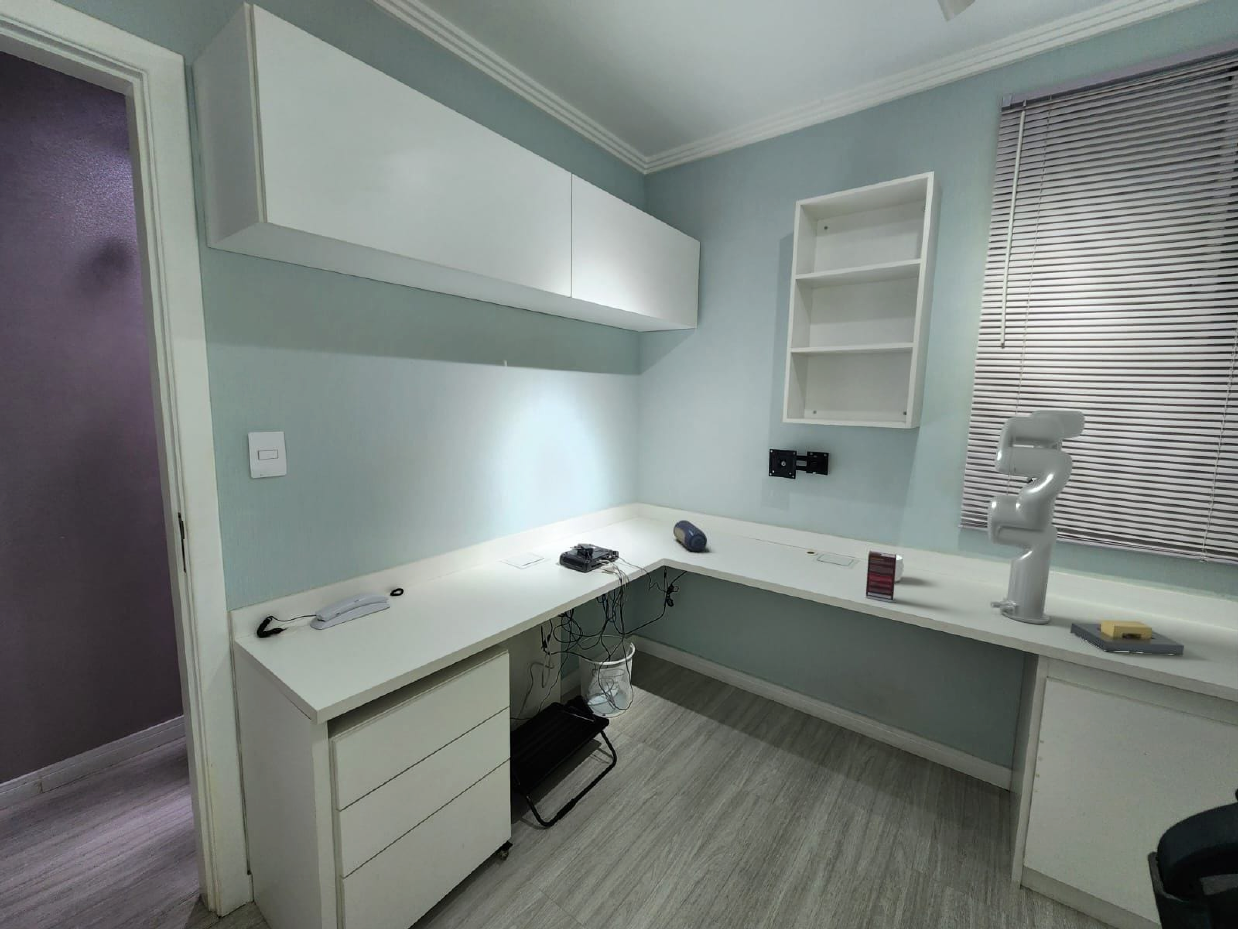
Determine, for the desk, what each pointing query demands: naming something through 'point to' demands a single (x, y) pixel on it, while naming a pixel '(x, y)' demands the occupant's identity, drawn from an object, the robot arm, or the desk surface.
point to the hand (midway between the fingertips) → (1041, 495)
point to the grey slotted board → (1126, 641)
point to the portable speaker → (690, 535)
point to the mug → (898, 567)
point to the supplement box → (881, 576)
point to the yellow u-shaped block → (1126, 628)
